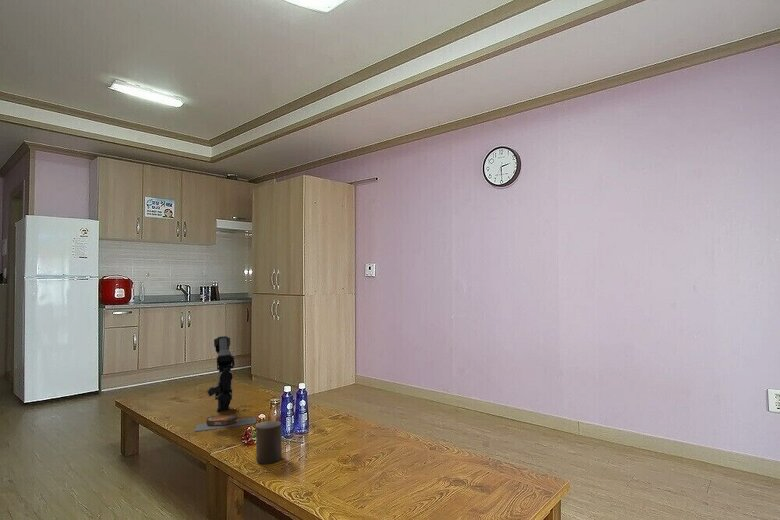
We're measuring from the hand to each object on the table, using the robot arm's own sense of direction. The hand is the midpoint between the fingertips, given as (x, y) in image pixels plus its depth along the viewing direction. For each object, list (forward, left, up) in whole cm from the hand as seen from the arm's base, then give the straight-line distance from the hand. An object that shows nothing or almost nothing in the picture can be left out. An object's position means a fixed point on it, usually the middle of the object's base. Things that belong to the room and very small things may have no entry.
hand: (225, 410), depth 225 cm
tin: (-5, 0, -5) cm, 7 cm away
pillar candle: (+55, +17, -7) cm, 58 cm away
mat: (+1, 0, -6) cm, 7 cm away
